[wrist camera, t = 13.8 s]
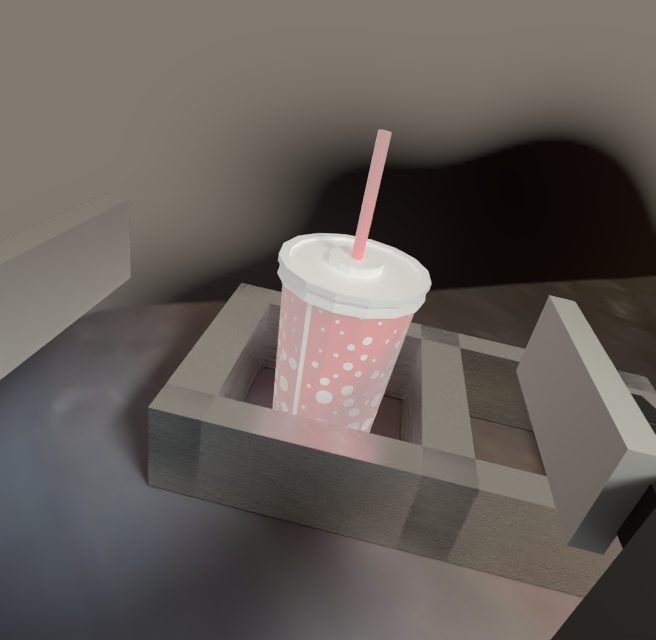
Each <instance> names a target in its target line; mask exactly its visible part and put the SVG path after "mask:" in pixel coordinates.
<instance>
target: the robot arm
mask: <svg viewBox="0 0 656 640" xmlns="http://www.w3.org/2000/svg"><path fill="white" fill-rule="evenodd" d="M128 279H130V217H129V198H125V197H121V196H116V195H112V194H108V193H105V194H103V195H101V196H98V197H96V198H94V199H92V200H90V201H88V202H85V203H83V204H81V205H79V206H76V207H74V208H72V209H70V210H68V211H66V212H63V213H61V214H59V215H57V216H55V217H52V218H50V219H48V220H46V221H44V222H41V223H39V224H37V225H35V226H33V227H31V228H28V229H26V230H24V231H22V232H20V233H18V234H16V235H13V236H11V237H9V238H6V239H4V240H2V241H0V380H1V379H2V378H3V377H5V376H6V375H7V374H9V373H10V372H11V371H12V370H14V369H15V368H16V367H17V366H19V365H20V364H21V363H23V362H24V361H25V360H26V359H28V358H29V357H30V356H31V355H33V354H34V353H35V352H37V351H38V350H39V349H40V348H42V347H43V346H44V345H45V344H47V343H48V342H49V341H51V340H52V339H53V338H54V337H56V336H57V335H58V334H59V333H61V332H62V331H63V330H65V329H66V328H67V327H68V326H70V325H71V324H72V323H73V322H75V321H76V320H77V319H79V318H80V317H81V316H82V315H84V314H85V313H86V312H87V311H89V310H90V309H91V308H93V307H94V306H95V305H96V304H98V303H99V302H100V301H101V300H103V299H104V298H105V297H107V296H108V295H109V294H110V293H111V292H113V291H114V290H115V289H117V288H118V287H119V286H121V285H122V284H123V283H124V282H126V281H127V280H128ZM516 372H517V375H518V379H519V382H520V386H521V389H522V392H523V396H524V399H525V403H526V406H527V410H528V413H529V417H530V420H531V424H532V427H533V430H534V434H535V437H536V441H537V444H538V448H539V451H540V455H541V458H542V461H543V465H544V468H545V472H546V475H547V479H548V482H549V486H550V489H551V493H552V496H553V499H554V503H555V506H556V510H557V513H558V517H559V520H560V524H561V527H562V530H563V534H564V537H565V541H566V544H567V546H571V547H575V548H579V549H583V550H587V551H591V552H595V553H598V554H602V555H604V553H605V552H606V550H607V549H608V548H609V546H610V545H611V543H612V542H613V541H614V539H615V538H616V536H618V539H619V541H620V544H621V546H622V549H623V550H622V551H621V552H620V553H619V555H618V556H617V557H616V558H615V560H614V561H613V562H612V563H611V565H610V566H609V567H608V568H607V570H606V571H605V572H604V573H603V575H602V576H601V577H600V578H599V580H598V581H597V582H596V583H595V585H594V586H593V587H592V589H591V590H590V591H589V592H588V594H587V595H586V596H585V597H584V599H583V600H582V601H581V602H580V604H579V605H578V606H577V607H576V609H575V610H574V611H573V612H572V614H571V615H570V616H569V617H568V619H567V620H566V621H565V623H564V624H563V625H562V626H561V628H560V629H559V630H558V631H557V633H556V634H555V635H554V636H553V638H552V639H551V640H656V408H655V407H654V406H653V405H652V404H650V403H649V402H648V401H647V400H646V399H645V398H644V397H643V396H641V395H636V394H632V393H630V392H629V390H628V388H627V387H626V385H625V383H624V382H623V380H622V378H621V377H620V375H619V373H618V372H617V370H616V368H615V367H614V365H613V363H612V362H611V360H610V359H609V357H608V355H607V354H606V352H605V350H604V349H603V347H602V345H601V344H600V342H599V340H598V339H597V337H596V335H595V334H594V332H593V330H592V329H591V327H590V325H589V324H588V322H587V320H586V319H585V317H584V315H583V314H582V312H581V310H580V309H579V307H578V305H577V304H576V302H575V301H571V300H567V299H563V298H558V297H554V296H550V295H549V297H548V300H547V302H546V304H545V306H544V309H543V311H542V313H541V315H540V318H539V320H538V322H537V324H536V327H535V329H534V331H533V333H532V336H531V338H530V340H529V342H528V345H527V347H526V349H525V351H524V354H523V356H522V358H521V360H520V363H519V365H518V367H517V369H516Z"/></svg>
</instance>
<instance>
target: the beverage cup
mask: <svg viewBox="0 0 656 640" xmlns="http://www.w3.org/2000/svg"><path fill="white" fill-rule="evenodd" d="M390 137H391V132H389V131H386V130H378V134H377V139H376V144H375V148H374V153H373V157H372V162H371V167H370V172H369V176H368V181H367V185H366V190H365V195H364V199H363V204H362V208H361V213H360V218H359V223H358V227H357V232H356V236H350V235H345V234H328V233H316V234H309V235H301V236H297V237H295V238H293V239H291V240H289V241H287V242H285V243H283V246H282V248H281V250H280V253H279V257H278V261H279V263H280V266H279V269H278V272H277V273H278V275H279V277H280V279H281V281H282V283H283V284H282V295H281V308H280V321H279V333H278V346H277V359H276V371H275V384H274V396H273V409H274V410H278V411H282V412H286V413H290V414H294V415H298V416H302V417H306V418H310V419H314V420H319V421H323V422H327V423H331V424H335V425H339V426H343V427H347V428H351V429H355V430H359V431H363V432H368V433H369V432H370V430H371V427H372V424H373V421H374V419H375V416H376V413H377V411H378V408H379V405H380V403H381V400H382V397H383V395H384V392H385V389H386V387H387V384H388V381H389V379H390V376H391V373H392V371H393V368H394V365H395V363H396V360H397V357H398V355H399V352H400V349H401V347H402V344H403V341H404V339H405V336H406V333H407V331H408V328H409V325H410V323H411V320H412V317H413V315H414V313H415V312H417V310H418V309H419V308H420V307H421V306H422V304H423V303H424V302H425V297H426V293H427V292H428V291H429V290H430V286H431V280H430V276H429V272H428V270H427V269H426V268H424V267H423V266H422V265H421V264H420V263H419V262H418V261H417V260H416V259H415V258H413V257H411V256H409V255H407V254H406V253H404V252H402V251H400V250H398V249H396V248H394V247H391V246H388V245H385V244H382V243H380V242H377V241H374V240H371V239H367V238H368V233H369V229H370V225H371V220H372V216H373V212H374V208H375V203H376V199H377V194H378V190H379V186H380V181H381V177H382V172H383V168H384V164H385V159H386V155H387V150H388V146H389V142H390Z"/></svg>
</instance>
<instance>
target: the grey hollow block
mask: <svg viewBox="0 0 656 640" xmlns="http://www.w3.org/2000/svg"><path fill="white" fill-rule="evenodd" d="M281 295H282V292H278V291H274V290H270V289H265V288H261V287H257V286H253V285H248V284H244V283H241V284H240V286H239V287H238V288H237V290H236V291H235V292H234V294H233V295H232V296H231V298H230V299H229V300H228V302H227V303H226V304H225V306H224V307H223V308H222V310H221V311H220V312H219V314H218V315H217V316H216V318H215V319H214V320H213V322H212V323H211V324H210V326H209V327H208V328H207V330H206V331H205V332H204V334H203V335H202V336H201V338H200V339H199V340H198V342H197V343H196V344H195V346H194V347H193V348H192V350H191V351H190V352H189V354H188V355H187V356H186V358H185V359H184V360H183V362H182V363H181V364H180V366H179V367H178V368H177V370H176V371H175V372H174V374H173V375H172V376H171V378H170V379H169V380H168V382H167V383H166V384H165V386H164V387H163V388H162V390H161V391H160V392H159V394H158V395H157V396H156V398H155V399H154V400H153V402H152V403H151V404H150V406H149V407H148V485H150V486H154V487H157V488H161V489H165V490H169V491H173V492H177V493H181V494H185V495H189V496H193V497H197V498H200V499H204V500H208V501H212V502H216V503H220V504H224V505H228V506H232V507H236V508H239V509H243V510H247V511H251V512H255V513H259V514H263V515H267V516H271V517H275V518H279V519H282V520H286V521H290V522H294V523H298V524H302V525H306V526H310V527H314V528H318V529H321V530H325V531H329V532H333V533H337V534H341V535H345V536H349V537H353V538H357V539H360V540H364V541H368V542H372V543H376V544H380V545H384V546H388V547H392V548H396V549H400V550H403V551H407V552H411V553H415V554H419V555H423V556H427V557H431V558H435V559H439V560H442V561H446V562H450V563H454V564H458V565H462V566H466V567H470V568H474V569H478V570H481V571H485V572H489V573H493V574H497V575H501V576H505V577H509V578H513V579H517V580H521V581H524V582H528V583H532V584H536V585H540V586H544V587H548V588H552V589H556V590H560V591H563V592H567V593H571V594H575V595H579V596H583V597H585V596H586V595H587V594H588V592H589V591H590V590H591V589H592V587H593V586H594V585H595V583H596V582H597V581H598V580H599V578H600V577H601V576H602V575H603V573H604V572H605V571H606V570H607V568H608V567H609V566H610V565H611V563H612V562H613V561H614V560H615V558H616V557H617V556H618V555H619V553H620V552H621V551H622V550H623V549H622V546H621V544H620V541H619V539H618V536H616V538H615V539H614V541H613V542H612V543H611V545H610V546H609V548H608V549H607V550H606V552H605V553H604V555H602V554H598V553H595V552H591V551H587V550H583V549H579V548H575V547H571V546H567V544H566V541H565V537H564V534H563V530H562V527H561V524H560V520H559V517H558V513H557V510H556V506H555V503H554V499H553V496H552V493H551V489H550V486H549V482H548V479H547V476H543V475H539V474H535V473H531V472H527V471H523V470H519V469H514V468H510V467H506V466H502V465H498V464H494V463H490V462H486V461H482V460H478V459H475V452H474V445H473V438H472V431H471V423H470V416H472V417H476V418H480V419H485V420H489V421H493V422H497V423H501V424H505V425H509V426H514V427H518V428H522V429H526V430H530V431H534V430H533V427H532V424H531V420H530V417H529V413H528V410H527V406H526V403H525V399H524V396H523V392H522V389H521V386H520V382H519V379H518V375H517V372H516V369H517V367H518V365H519V363H520V360H521V358H522V356H523V354H524V351H525V349H523V348H519V347H515V346H511V345H506V344H502V343H498V342H493V341H489V340H485V339H480V338H476V337H472V336H468V335H463V334H459V333H455V332H450V331H446V330H442V329H437V328H433V327H429V326H425V325H420V324H416V323H412V322H411V323H410V325H409V328H408V331H407V333H406V336H405V339H404V341H403V344H402V347H401V349H400V352H399V355H398V357H397V360H396V363H395V365H394V368H393V371H392V373H391V376H390V379H389V381H388V384H387V387H386V389H385V392H384V395H385V396H389V397H393V398H397V399H401V400H402V414H401V436H400V440H396V439H392V438H388V437H384V436H380V435H376V434H372V433H368V432H363V431H359V430H355V429H351V428H347V427H343V426H339V425H335V424H331V423H327V422H323V421H319V420H314V419H310V418H306V417H302V416H298V415H294V414H290V413H286V412H282V411H278V410H274V409H270V408H265V407H261V406H257V405H253V404H249V403H245V402H244V400H245V398H246V396H247V394H248V392H249V390H250V388H251V386H252V384H253V382H254V380H255V378H256V376H257V374H258V372H259V370H260V368H261V366H264V367H269V368H273V369H276V359H277V346H278V333H279V321H280V308H281ZM617 372H618V373H619V375H620V377H621V378H622V380H623V382H624V383H625V385H626V387H627V388H628V390H629V392H630V393H632V394H636V395H641V396H643V397H644V398H645V399H646V400H647V401H648V402H649V403H650V404H652V405H653V406H654V407H655V408H656V390H655V389H654V388H653V386H652V385H651V383H650V382H649V380H648V379H647V377H644V376H639V375H635V374H631V373H627V372H622V371H618V370H617Z"/></svg>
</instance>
